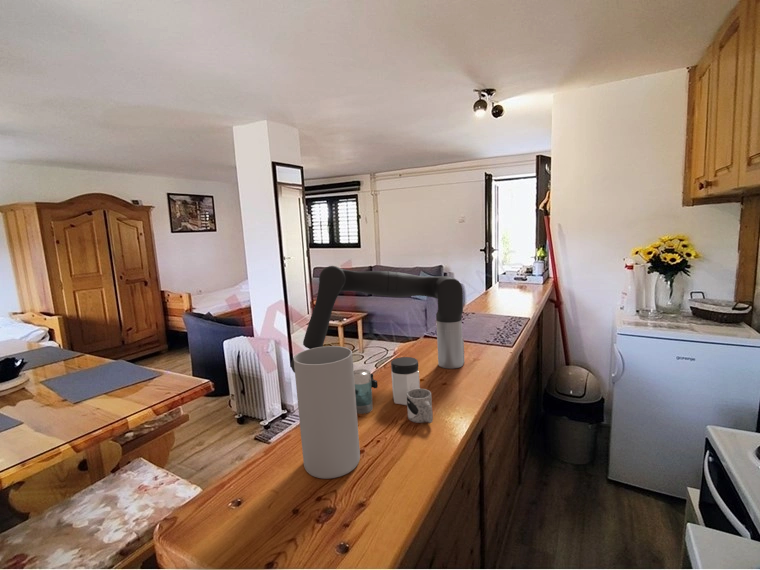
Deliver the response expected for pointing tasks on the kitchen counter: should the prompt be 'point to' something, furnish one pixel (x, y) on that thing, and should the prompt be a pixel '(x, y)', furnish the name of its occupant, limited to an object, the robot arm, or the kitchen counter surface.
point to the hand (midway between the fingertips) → (365, 389)
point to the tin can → (363, 391)
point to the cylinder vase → (327, 411)
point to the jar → (404, 378)
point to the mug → (419, 406)
